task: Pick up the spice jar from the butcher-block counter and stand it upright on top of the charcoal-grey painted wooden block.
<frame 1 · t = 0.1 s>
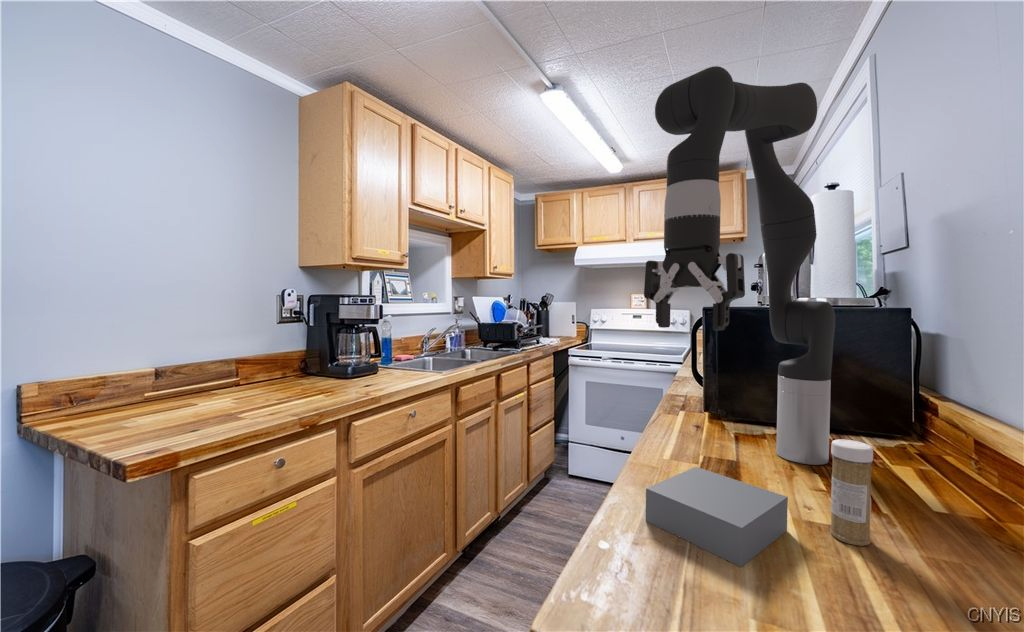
hand: (689, 328, 62), 29 cm above the worktop, tool pointing down, fingers open, 8 cm apart
spice jar: (849, 539, 60), on the worktop
grey block: (714, 525, 63), on the worktop
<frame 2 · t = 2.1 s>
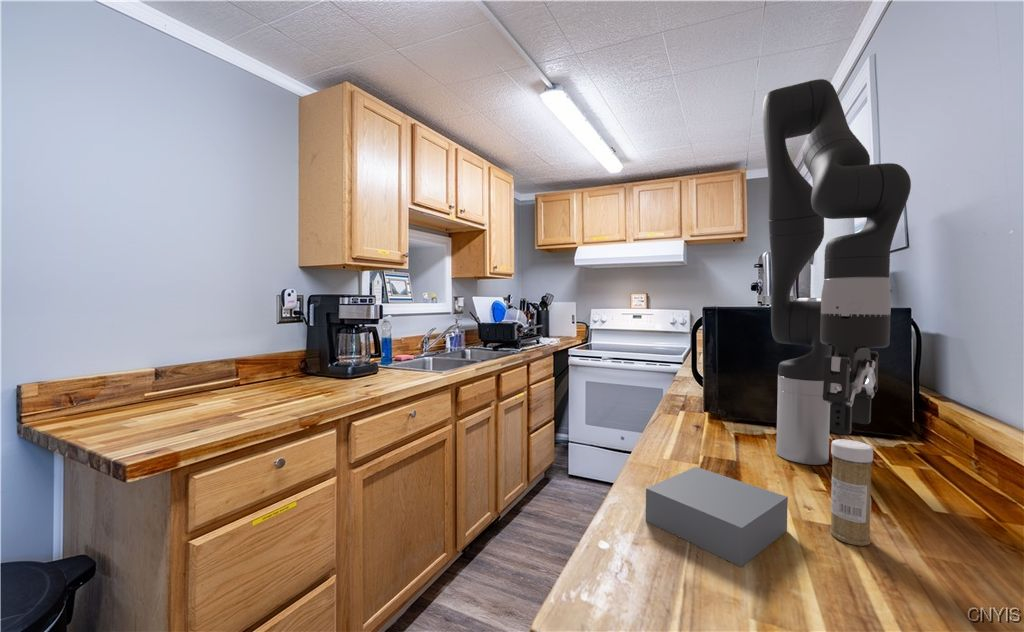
hand: (850, 427, 59), 16 cm above the worktop, tool pointing down, fingers open, 8 cm apart
nothing on the worktop moved.
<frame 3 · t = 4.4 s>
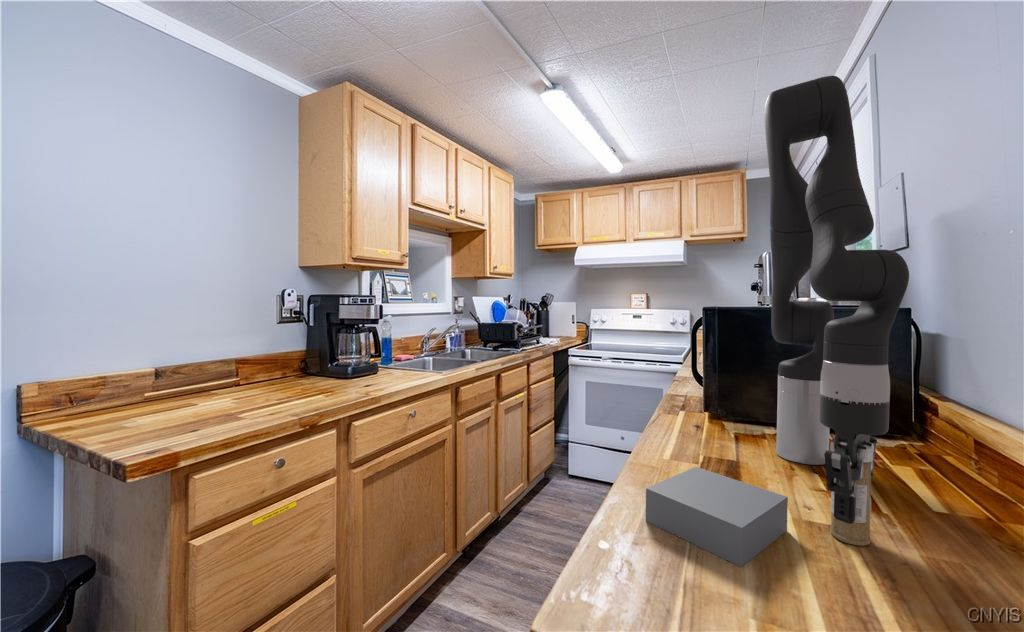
hand: (849, 514, 60), 3 cm above the worktop, tool pointing down, fingers closed on spice jar, 4 cm apart
spice jar: (849, 539, 60), on the worktop, touching gripper
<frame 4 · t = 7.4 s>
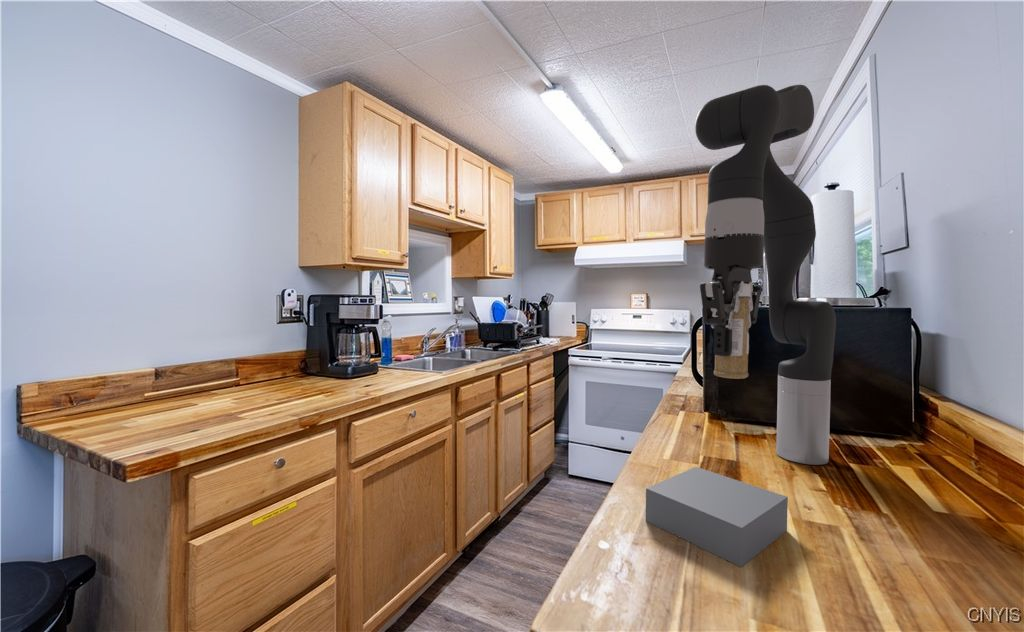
hand: (730, 353, 61), 26 cm above the worktop, tool pointing down, fingers closed on spice jar, 4 cm apart
spice jar: (730, 378, 61), point 22 cm above the worktop, touching gripper
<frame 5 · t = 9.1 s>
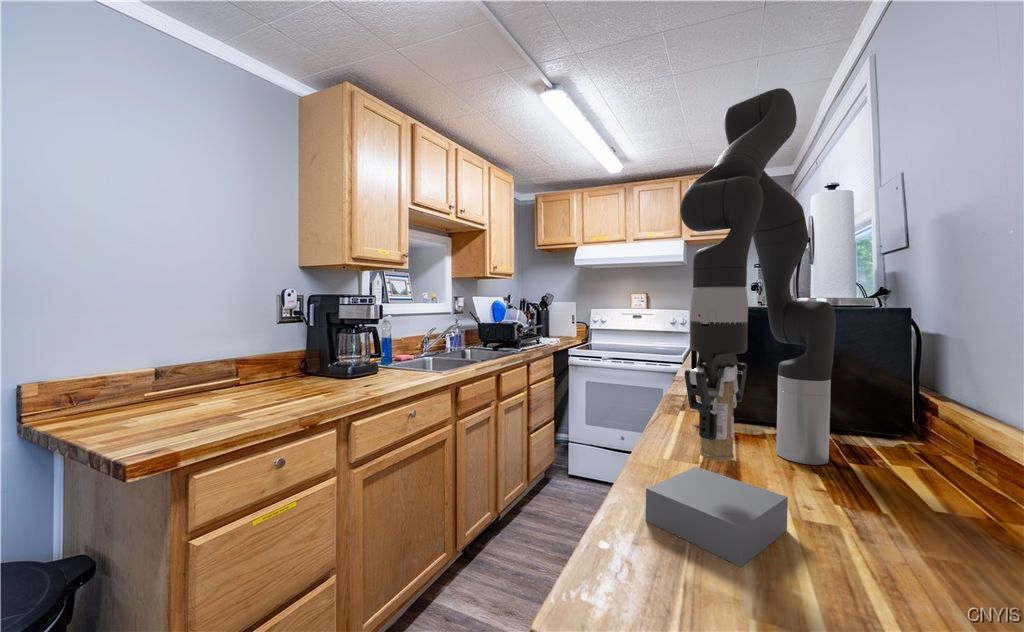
hand: (716, 434, 62), 14 cm above the worktop, tool pointing down, fingers closed on spice jar, 4 cm apart
spice jar: (715, 458, 63), point 10 cm above the worktop, touching gripper
when the fingers open (10 cm above the worktop, at t = 10.6 s): spice jar drops 1 cm, resting on grey block.
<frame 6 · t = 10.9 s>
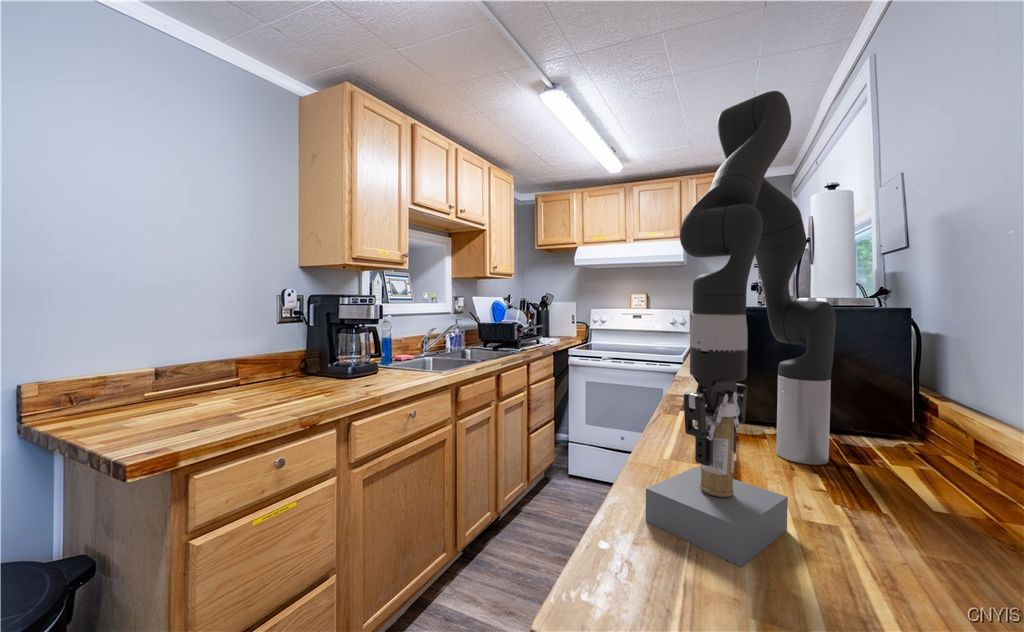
hand: (715, 458, 62), 10 cm above the worktop, tool pointing down, fingers open, 6 cm apart
spice jar: (715, 493, 63), point 5 cm above the worktop, touching grey block
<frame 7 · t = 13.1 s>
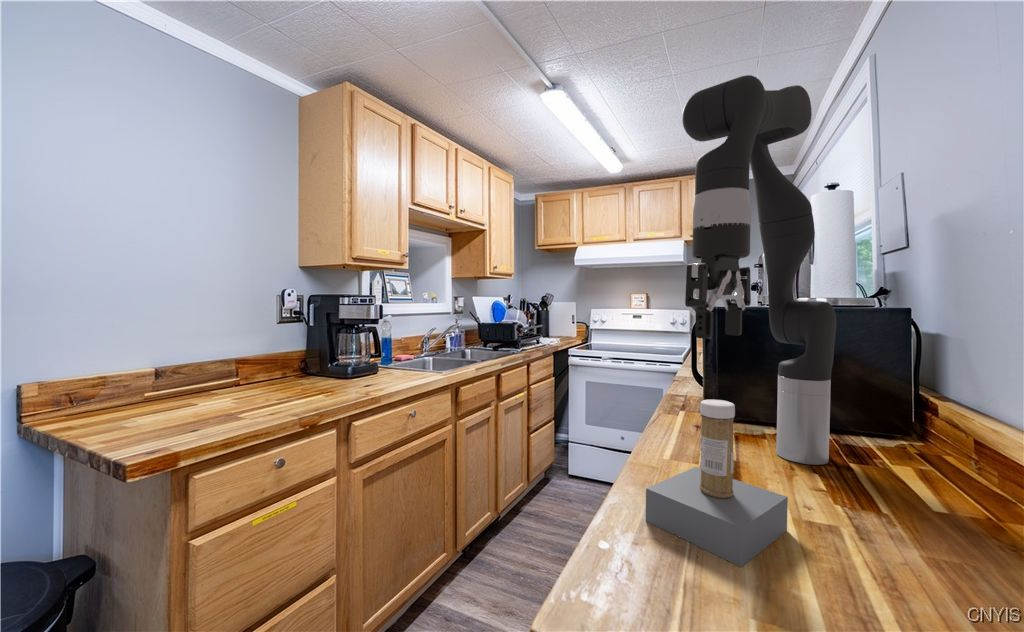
hand: (719, 336, 62), 28 cm above the worktop, tool pointing down, fingers open, 8 cm apart
nothing on the worktop moved.
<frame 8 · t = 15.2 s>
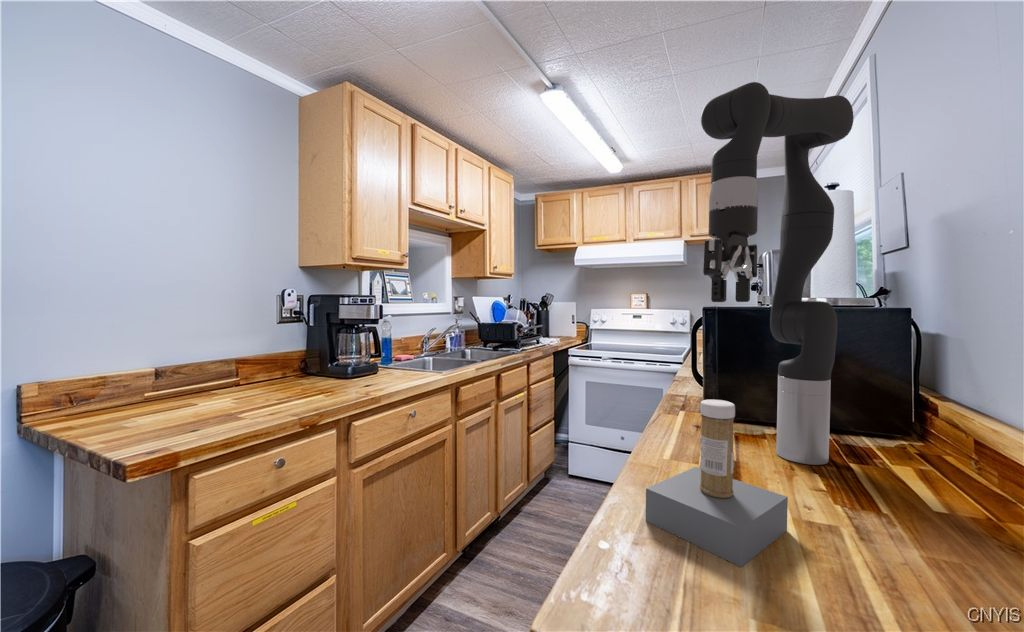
hand: (730, 302, 74), 33 cm above the worktop, tool pointing down, fingers open, 8 cm apart
nothing on the worktop moved.
at the end: spice jar inside the target area on the grey block (0.1 cm from its centre), point 4.8 cm above the grey block's base; spice jar tilted 0°; the gripper is holding nothing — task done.
